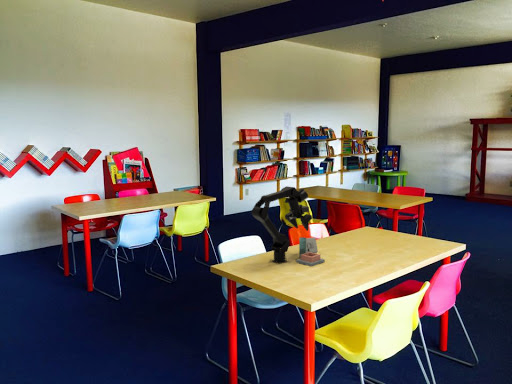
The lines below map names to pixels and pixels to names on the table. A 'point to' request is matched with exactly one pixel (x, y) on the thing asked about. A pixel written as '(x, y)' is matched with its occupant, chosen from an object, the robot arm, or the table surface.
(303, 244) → the peg
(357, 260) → the table surface
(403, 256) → the table surface
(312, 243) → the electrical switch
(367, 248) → the table surface
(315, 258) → the socket plate
